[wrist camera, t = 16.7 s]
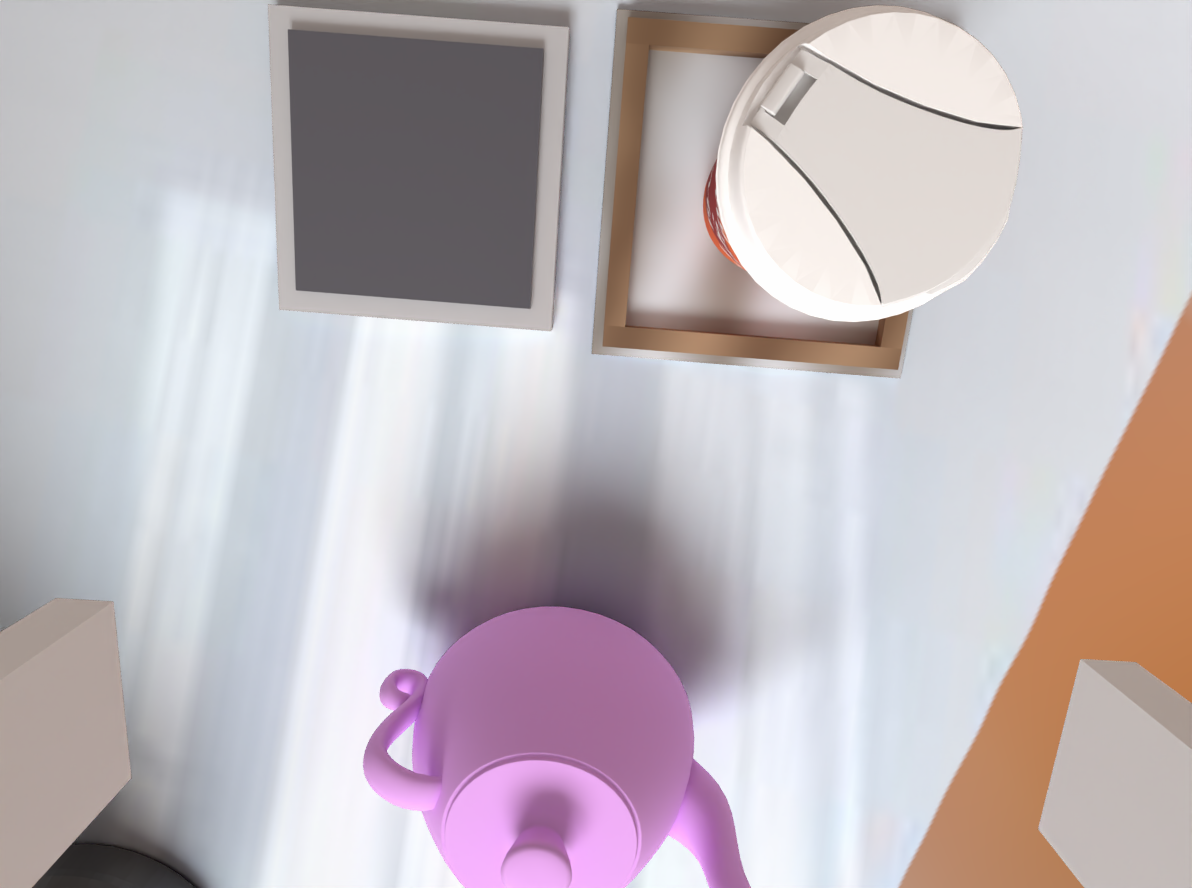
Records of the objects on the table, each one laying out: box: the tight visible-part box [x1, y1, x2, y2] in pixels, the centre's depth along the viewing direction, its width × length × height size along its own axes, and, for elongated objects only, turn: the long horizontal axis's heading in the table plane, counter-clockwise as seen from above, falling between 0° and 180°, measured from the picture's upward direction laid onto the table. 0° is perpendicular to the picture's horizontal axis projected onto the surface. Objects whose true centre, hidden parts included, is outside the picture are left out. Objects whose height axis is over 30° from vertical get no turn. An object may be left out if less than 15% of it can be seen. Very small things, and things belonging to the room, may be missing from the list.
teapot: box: [363, 606, 751, 888], centre depth 35 cm, size 20×14×12 cm
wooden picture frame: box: [592, 9, 913, 378], centre depth 33 cm, size 15×15×1 cm
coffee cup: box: [703, 5, 1023, 322], centre depth 26 cm, size 8×8×15 cm
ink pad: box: [268, 4, 570, 331], centre depth 33 cm, size 13×13×1 cm
